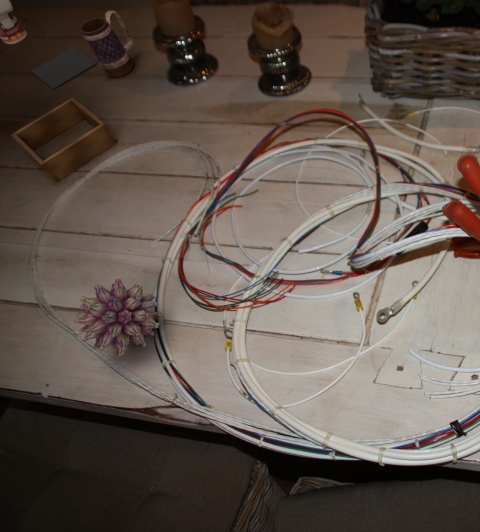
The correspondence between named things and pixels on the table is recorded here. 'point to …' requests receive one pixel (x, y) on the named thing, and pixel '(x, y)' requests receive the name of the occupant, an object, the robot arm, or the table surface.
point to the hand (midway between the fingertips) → (3, 21)
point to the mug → (108, 45)
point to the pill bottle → (12, 31)
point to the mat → (64, 68)
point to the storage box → (75, 151)
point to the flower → (118, 316)
